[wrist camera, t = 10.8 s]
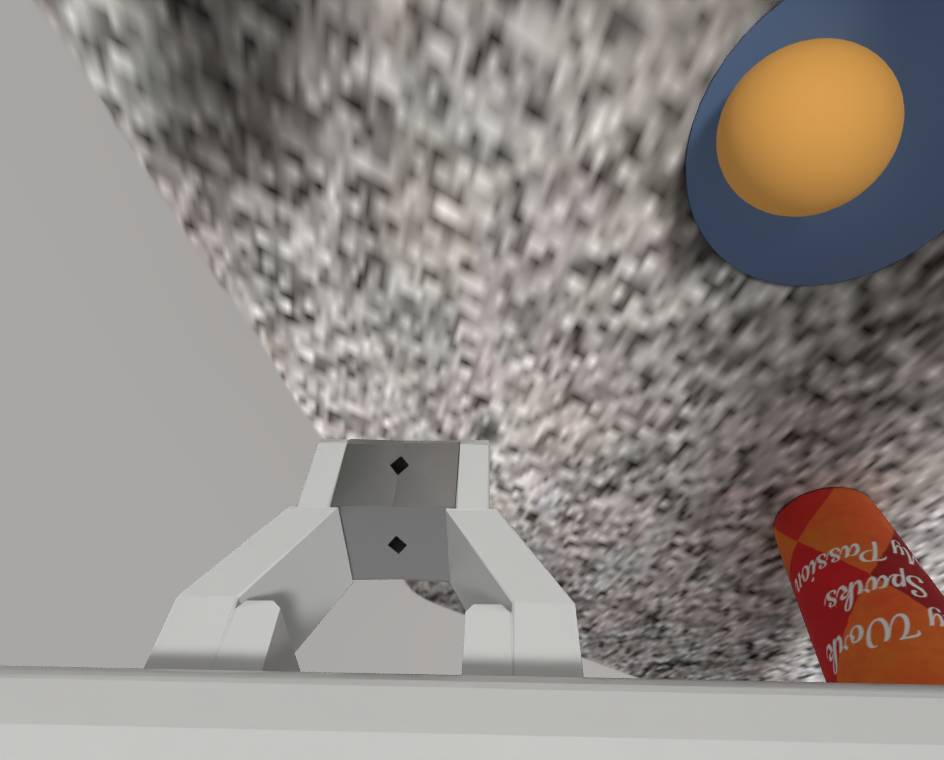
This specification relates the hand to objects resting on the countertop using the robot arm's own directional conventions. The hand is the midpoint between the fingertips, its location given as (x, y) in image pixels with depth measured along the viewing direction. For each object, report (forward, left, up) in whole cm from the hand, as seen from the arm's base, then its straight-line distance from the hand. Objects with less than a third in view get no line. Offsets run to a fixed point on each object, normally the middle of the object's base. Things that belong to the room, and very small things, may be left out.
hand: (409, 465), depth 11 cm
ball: (-13, -1, -16) cm, 21 cm away
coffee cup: (-22, +23, -19) cm, 37 cm away
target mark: (-16, 0, -19) cm, 25 cm away
